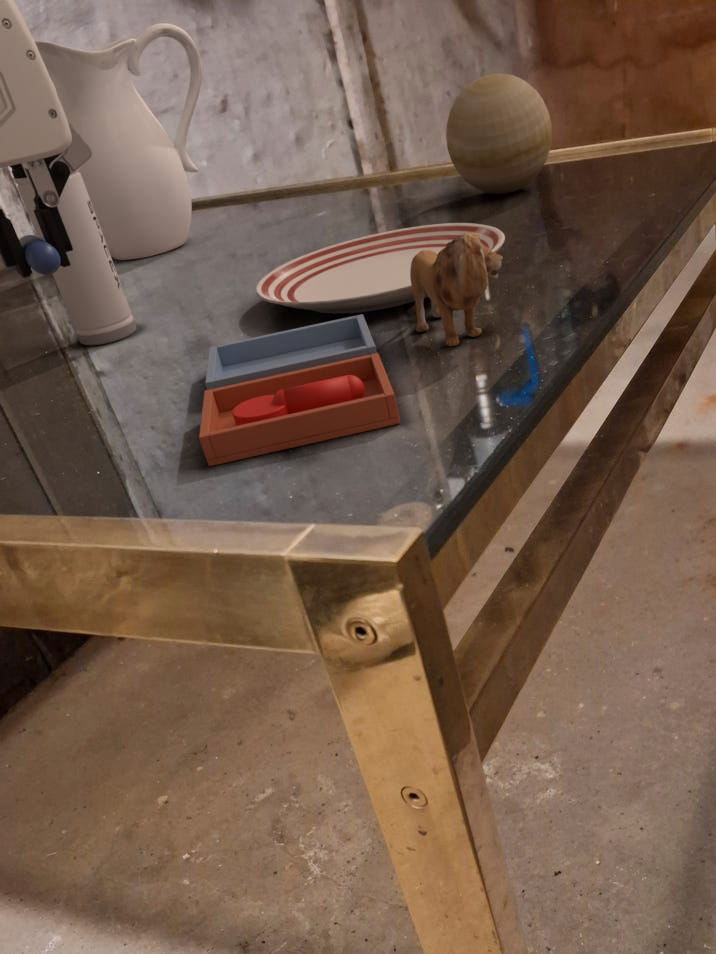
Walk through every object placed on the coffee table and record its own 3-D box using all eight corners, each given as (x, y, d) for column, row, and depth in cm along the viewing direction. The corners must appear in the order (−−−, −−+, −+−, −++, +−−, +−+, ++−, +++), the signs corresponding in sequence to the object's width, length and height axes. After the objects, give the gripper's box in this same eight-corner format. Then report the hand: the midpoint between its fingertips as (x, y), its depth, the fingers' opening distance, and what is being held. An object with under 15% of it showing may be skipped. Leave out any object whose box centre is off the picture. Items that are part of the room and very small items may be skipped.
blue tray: (213, 409, 77) (205, 382, 76) (217, 371, 86) (209, 346, 84) (381, 372, 78) (375, 345, 77) (368, 338, 87) (362, 313, 85)
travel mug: (66, 345, 101) (-17, 143, 90) (115, 325, 106) (40, 129, 94) (100, 349, 98) (17, 140, 87) (148, 328, 102) (76, 125, 91)
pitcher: (99, 273, 132) (13, 44, 116) (90, 254, 145) (12, 47, 129) (259, 234, 138) (199, 11, 122) (236, 219, 151) (180, 17, 135)
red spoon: (364, 390, 74) (358, 364, 73) (370, 409, 70) (363, 381, 69) (237, 418, 73) (229, 392, 72) (236, 439, 69) (228, 411, 68)
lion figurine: (520, 336, 80) (506, 227, 75) (470, 355, 78) (453, 244, 73) (431, 311, 91) (413, 214, 86) (385, 327, 89) (364, 228, 84)
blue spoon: (83, 268, 68) (71, 236, 66) (22, 284, 66) (8, 252, 65) (57, 251, 75) (45, 222, 74) (2, 265, 74) (-11, 236, 72)
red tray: (208, 466, 67) (198, 437, 66) (213, 417, 76) (204, 390, 74) (400, 423, 68) (394, 393, 67) (383, 379, 77) (378, 352, 75)
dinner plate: (257, 349, 89) (247, 314, 87) (266, 281, 112) (258, 253, 110) (531, 294, 91) (527, 258, 89) (486, 238, 113) (482, 209, 111)
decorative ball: (564, 176, 139) (554, 60, 130) (547, 198, 127) (535, 72, 118) (468, 187, 143) (452, 75, 134) (444, 210, 131) (425, 89, 122)
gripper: (-217, -14, 53) (-62, 307, 64) (59, -53, 59) (159, 248, 70) (-214, -4, 59) (-72, 291, 69) (38, -40, 65) (134, 237, 75)
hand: (43, 267), depth 69 cm, fingers closed on blue spoon, 2 cm apart
